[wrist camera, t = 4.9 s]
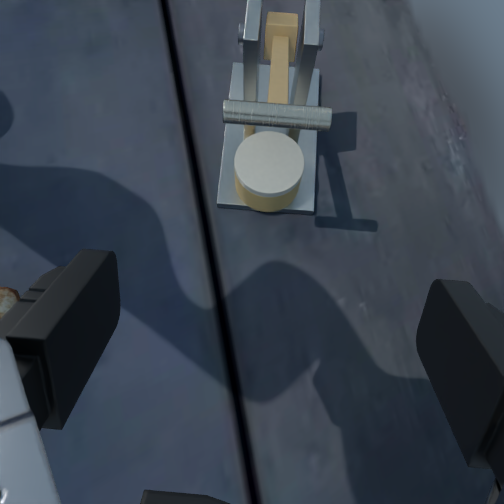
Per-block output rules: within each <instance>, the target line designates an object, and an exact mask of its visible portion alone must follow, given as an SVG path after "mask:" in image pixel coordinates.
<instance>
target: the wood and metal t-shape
mask: <svg viewBox="0 0 504 504" xmlns="http://www.w3.org/2000/svg"><path fill="white" fill-rule="evenodd" d="M297 35H298V14H292V13H279V12H268V13H267V20H266V30H265V45H264V60H271V66H270V77H269V89H268V100H267V102H256V101H244V100H231V99H225V100H224V104H223V123H226V124H238V125H251V126H263V127H276V128H289V129H301V130H314V131H327V132H328V131H329V130H330V126H331V120H332V108H331V107H320V106H307V105H294V104H288V102H289V62H294V60H295V52H296V43H297Z"/></svg>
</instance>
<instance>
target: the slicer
mask: <svg viewBox="0 0 504 504" xmlns="http://www.w3.org/2000/svg"><path fill="white" fill-rule="evenodd" d="M320 2H321V0H305V6H304V12H303V19H302V25H301V32H300V38H299V45H298V51H297V58H296V64H295V67H289V102H288V104H294V105H307V106H318V100H319V75H320V69H314V65H315V60H316V55H317V50H318V51H321V50H322V47H323V41H324V29H319V25H320ZM262 3H263V0H247V10H246V19H245V23H239V31H238V44H240V45H243V63H236V62H233V67H232V76H231V84H230V93H229V99H231V100H244V101H256V102H267V100H268V89H269V77H270V66H271V65H262V64H260V47H261V25H262ZM264 131H274V132H279V133H282V134H285V135H287V136H288V137H290V138H291V139H293V140H294V141H295V142H296V143H297V144H298V145H299V147H300V148H301V150H302V153H303V156H304V162H305V165H304V171H303V175H302V178H301V182H300V186H299V190H298V193H297V195H296V197H295V199H294V200H293V201H292V202H291V203H290V204H289V205H288V206H286V207H285V208H283V209H281V210H278V211H274V212H280V213H292V214H305V215H313V212H314V198H315V173H316V149H317V131H314V130H301V129H289V128H276V127H263V126H251V125H238V124H226V128H225V136H224V145H223V154H222V162H221V171H220V179H219V188H218V197H217V207H218V208H231V209H243V210H255V209H252V208H251V207H249V206H248V205H246V204H245V203H244V202H243V201H242V200H241V199H240V197H239V195H238V193H237V191H236V186H235V167H234V158H235V154H236V151H237V149H238V147H239V146H240V144H241V143H242V142H243V141H244V140H245V139H246V138H248V137H249V136H251V135H253V134H256V133H259V132H264ZM255 211H258V210H255Z"/></svg>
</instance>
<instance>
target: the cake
mask: <svg viewBox="0 0 504 504" xmlns="http://www.w3.org/2000/svg"><path fill="white" fill-rule="evenodd" d="M304 165H305V162H304V156H303V153H302V150H301V148H300V147H299V145H298V144H297V143H296V142H295V141H294V140H293V139H291V138H290V137H288V136H287V135H285V134H282V133H279V132H274V131H264V132H259V133H256V134H253V135H251V136H249V137H248V138H246V139H245V140H244V141H243V142H242V143H241V144H240V146H239V147H238V149H237V151H236V154H235V158H234V167H235V186H236V191H237V193H238V195H239V197H240V199H241V200H242V201H243V202H244V203H245V204H246V205H248V206H249V207H251V208H252V209H255V210H258V211H262V212H274V211H278V210H281V209H283V208H285V207H286V206H288V205H289V204H290V203H291V202H292V201H293V200H294V199H295V197H296V195H297V193H298V190H299V186H300V182H301V178H302V175H303V171H304Z"/></svg>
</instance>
